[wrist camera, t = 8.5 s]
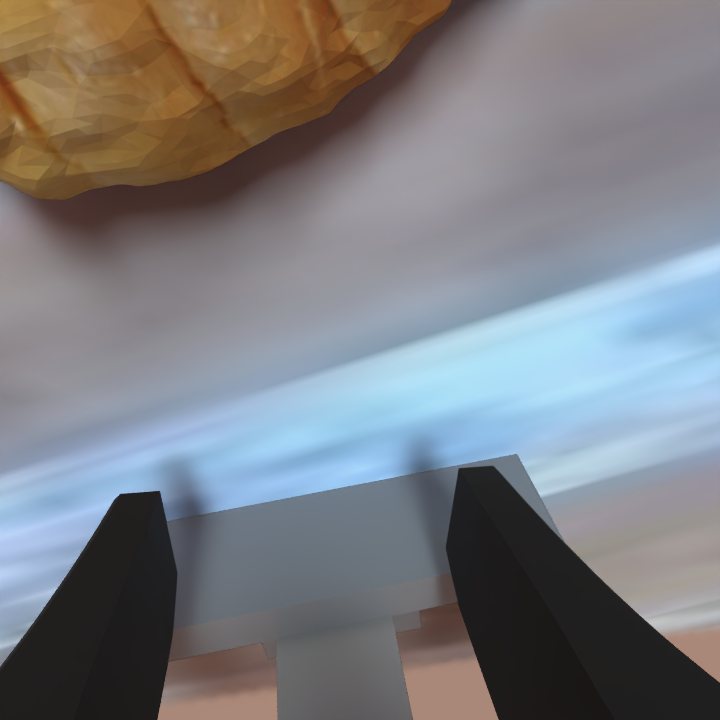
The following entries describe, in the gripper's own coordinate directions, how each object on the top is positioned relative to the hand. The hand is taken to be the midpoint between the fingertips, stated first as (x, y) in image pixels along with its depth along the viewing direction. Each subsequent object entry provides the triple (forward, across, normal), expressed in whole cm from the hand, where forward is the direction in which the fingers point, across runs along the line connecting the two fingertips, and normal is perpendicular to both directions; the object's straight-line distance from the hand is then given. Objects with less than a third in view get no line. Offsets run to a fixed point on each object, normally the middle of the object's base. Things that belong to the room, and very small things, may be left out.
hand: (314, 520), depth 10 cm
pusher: (+3, 0, +5) cm, 6 cm away
